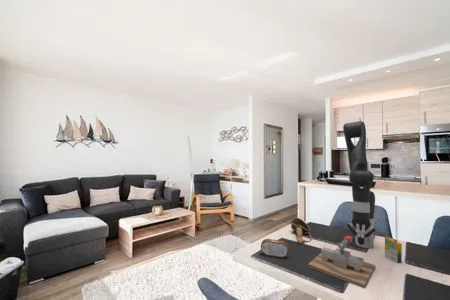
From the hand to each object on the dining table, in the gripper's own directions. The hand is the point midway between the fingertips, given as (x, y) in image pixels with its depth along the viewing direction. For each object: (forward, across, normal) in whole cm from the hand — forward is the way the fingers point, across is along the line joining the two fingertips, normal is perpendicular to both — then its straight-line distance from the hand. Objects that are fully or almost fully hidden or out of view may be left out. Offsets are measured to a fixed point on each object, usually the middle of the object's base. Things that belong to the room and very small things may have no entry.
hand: (360, 244), depth 113 cm
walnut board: (+10, +7, +10) cm, 16 cm away
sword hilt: (+10, +35, -16) cm, 40 cm away
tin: (+10, +38, +18) cm, 44 cm away
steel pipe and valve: (+8, +7, +10) cm, 15 cm away
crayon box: (+10, -13, -15) cm, 23 cm away
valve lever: (+2, +6, +4) cm, 8 cm away
